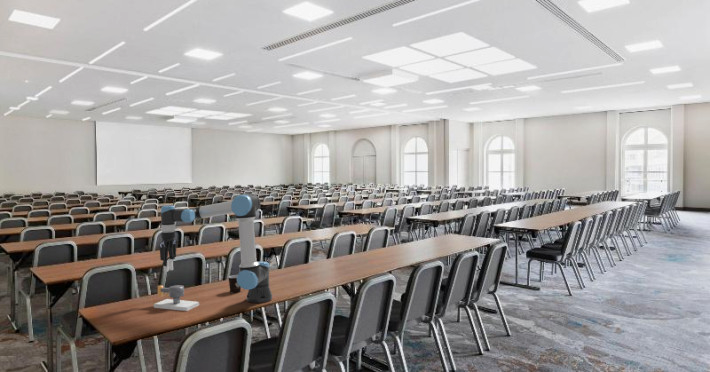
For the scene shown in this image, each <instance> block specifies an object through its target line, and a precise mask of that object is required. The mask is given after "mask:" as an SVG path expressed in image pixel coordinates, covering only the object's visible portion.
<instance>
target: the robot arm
mask: <svg viewBox="0 0 710 372" xmlns="http://www.w3.org/2000/svg"><path fill="white" fill-rule="evenodd" d="M261 204H262V203H261V199H260V198H259V196H258V195H256V194H254V193H247V194H239V195H237V196H235V197H234V198H233V199H232V200H228V201H223V202H219V203H218V202H217V203H212V204H207V205H201V206H195V207H191V208H184V209H181V208H180V209H179V208H178V209H177V208H175V207H176V206H175V205H163V206H161V208H160V210H161V211H160V221H161V223H160V224H161V229H160V230H161V233H160V236H161V239H162V242H161V243H159V244H158V248H159V257H160V258H159V259H160V261H163V272H165V273H168V272H169V271H174V260H175V259H176V257H177V244H178V240H175V237H176V232H175V231H176V223H192V222H194V221H197V220H202V219H207V218H212V217H219V216H223V215H230V214H234V217H235V220H236V221H237V223H238V234H239V247H240V248H239V249H240V261H241V262H240V264H239V266H238V271H239V272H238V274H236V275H237V283H238V285H239V286H240V287H241V289H243V290H247V295H246V302H249V303H254V304H256V303H257V304H258V303H259V304H260V303H267V302H270V301H272V300H273V294H272V291H271V288H270V263H269V262H267V261H257V250H256V237H255V236H256V234H255V222H254V220H255V219H256V217H257V214H256V213H257V212H258V211H259V210H260V208H261Z"/></svg>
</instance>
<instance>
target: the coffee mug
mask: <svg viewBox="0 0 710 372" xmlns="http://www.w3.org/2000/svg"><path fill="white" fill-rule="evenodd" d="M237 275H238V274H233V275H229V276H228V284H229V285H228V286H229V292H230V294H239V293H241V290H242V288H241V287H240V286H239V285H238V283H237Z"/></svg>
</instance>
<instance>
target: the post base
mask: <svg viewBox="0 0 710 372" xmlns="http://www.w3.org/2000/svg"><path fill="white" fill-rule="evenodd" d="M198 306H200V301H195V300H194V301H193V300H183V299H181V297H176V298H172V299H171V298H166V299H163V300H161V301H158V302H156V303H153V308H155V309H161V310H162V309H163V310H164V309H165V310H174V311H184V312H188V311H190V310H193V309H194V308H196V307H198Z"/></svg>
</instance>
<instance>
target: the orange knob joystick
mask: <svg viewBox="0 0 710 372" xmlns="http://www.w3.org/2000/svg"><path fill="white" fill-rule="evenodd" d="M164 293H168V297H169V298H172V299H173V298H176V297H180V298H181V297H184V296H185V286H184V285H181V284H179V285H178V284H177V285H176V284H175V285H171V286H169V287H164V285H157V298H162V297H164Z"/></svg>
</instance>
